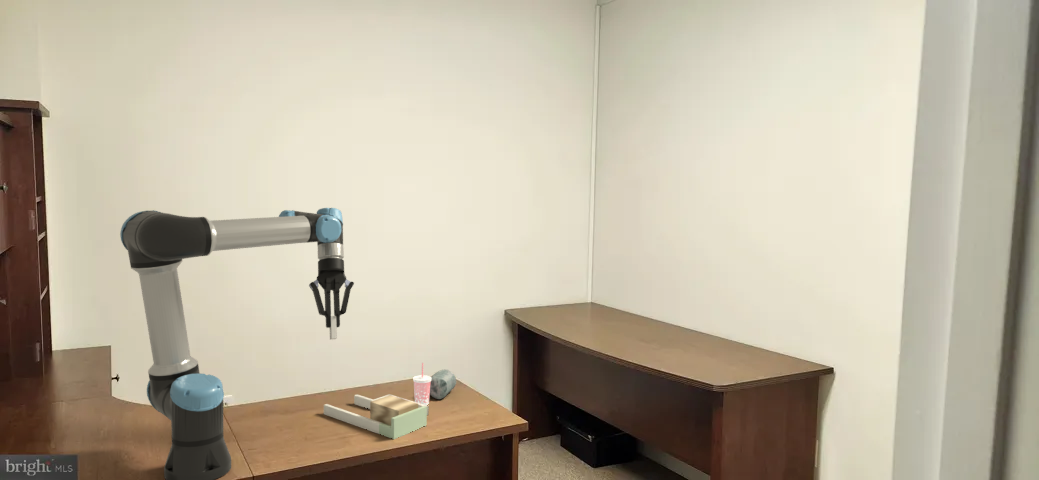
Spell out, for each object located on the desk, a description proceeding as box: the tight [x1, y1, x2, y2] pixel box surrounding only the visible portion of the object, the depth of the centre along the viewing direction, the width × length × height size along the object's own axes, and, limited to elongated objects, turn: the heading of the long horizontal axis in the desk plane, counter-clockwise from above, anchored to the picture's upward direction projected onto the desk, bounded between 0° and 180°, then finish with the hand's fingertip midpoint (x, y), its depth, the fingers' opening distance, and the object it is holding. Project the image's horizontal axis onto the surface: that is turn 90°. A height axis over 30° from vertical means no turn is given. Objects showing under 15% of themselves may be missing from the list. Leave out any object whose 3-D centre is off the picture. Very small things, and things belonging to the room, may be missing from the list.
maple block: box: [369, 394, 418, 426], centre depth 201 cm, size 12×8×8 cm, turn 54°
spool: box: [430, 369, 457, 400], centre depth 231 cm, size 14×10×10 cm
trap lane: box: [323, 393, 429, 440], centre depth 208 cm, size 31×20×6 cm, turn 54°
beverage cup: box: [412, 362, 432, 406], centre depth 220 cm, size 6×6×14 cm
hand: (333, 338), depth 195 cm, fingers closed
